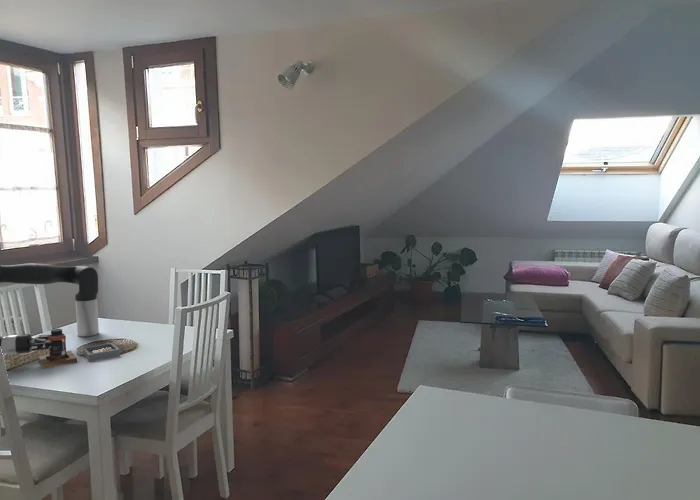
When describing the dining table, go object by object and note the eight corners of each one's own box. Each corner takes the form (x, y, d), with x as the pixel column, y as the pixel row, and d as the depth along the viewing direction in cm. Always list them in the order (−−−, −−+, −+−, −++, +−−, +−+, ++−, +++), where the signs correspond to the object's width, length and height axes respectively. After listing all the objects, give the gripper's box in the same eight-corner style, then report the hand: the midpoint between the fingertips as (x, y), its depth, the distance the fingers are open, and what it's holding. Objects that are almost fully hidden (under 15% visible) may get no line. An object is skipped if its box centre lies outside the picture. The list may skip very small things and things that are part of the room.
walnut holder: (38, 360, 216) (38, 356, 215) (71, 354, 223) (70, 350, 223) (43, 368, 206) (43, 364, 206) (77, 362, 214) (77, 358, 213)
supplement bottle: (68, 356, 215) (66, 329, 213) (52, 360, 210) (50, 332, 209) (63, 353, 219) (61, 326, 217) (47, 356, 214) (45, 329, 213)
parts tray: (82, 354, 224) (82, 347, 224) (112, 348, 231) (112, 342, 231) (89, 361, 215) (88, 354, 214) (120, 355, 222) (119, 349, 222)
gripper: (10, 340, 202) (59, 336, 207) (21, 330, 215) (66, 326, 221) (12, 359, 203) (61, 354, 208) (22, 347, 216) (67, 343, 222)
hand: (63, 340), depth 214 cm, fingers closed on supplement bottle, 6 cm apart
